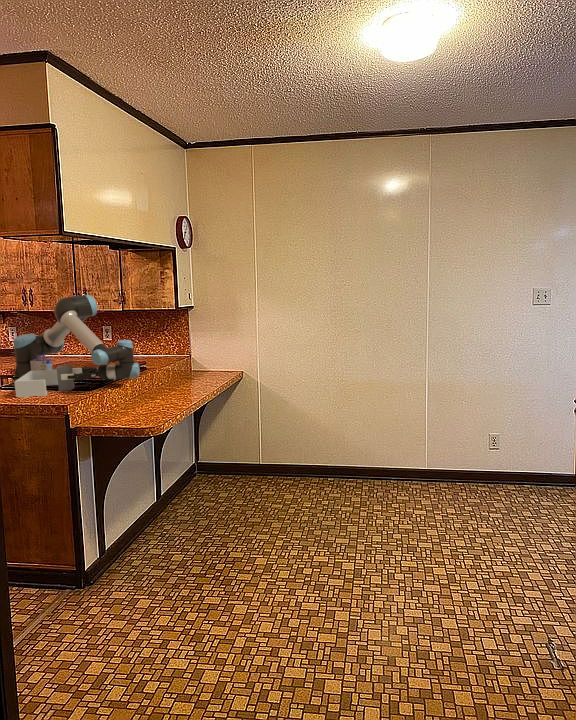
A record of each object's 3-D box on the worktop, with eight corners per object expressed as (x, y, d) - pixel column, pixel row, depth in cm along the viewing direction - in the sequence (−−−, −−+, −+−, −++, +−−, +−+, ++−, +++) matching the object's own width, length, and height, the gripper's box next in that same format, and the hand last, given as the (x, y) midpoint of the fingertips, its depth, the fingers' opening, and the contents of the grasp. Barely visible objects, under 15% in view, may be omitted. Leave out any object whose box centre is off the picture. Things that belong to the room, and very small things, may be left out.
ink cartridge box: (54, 380, 338) (51, 354, 335) (48, 383, 332) (45, 356, 329) (38, 380, 340) (35, 354, 337) (32, 383, 334) (28, 356, 331)
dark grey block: (62, 388, 320) (59, 365, 318) (74, 387, 321) (71, 364, 318) (58, 391, 314) (56, 367, 312) (71, 390, 315) (68, 367, 312)
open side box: (32, 385, 328) (30, 370, 326) (60, 384, 329) (58, 369, 327) (16, 397, 304) (14, 381, 303) (46, 396, 305) (44, 380, 304)
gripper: (103, 385, 305) (58, 387, 304) (113, 373, 329) (72, 375, 328) (101, 370, 304) (57, 372, 302) (112, 359, 328) (71, 361, 327)
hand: (65, 374), depth 315 cm, fingers open, 13 cm apart
